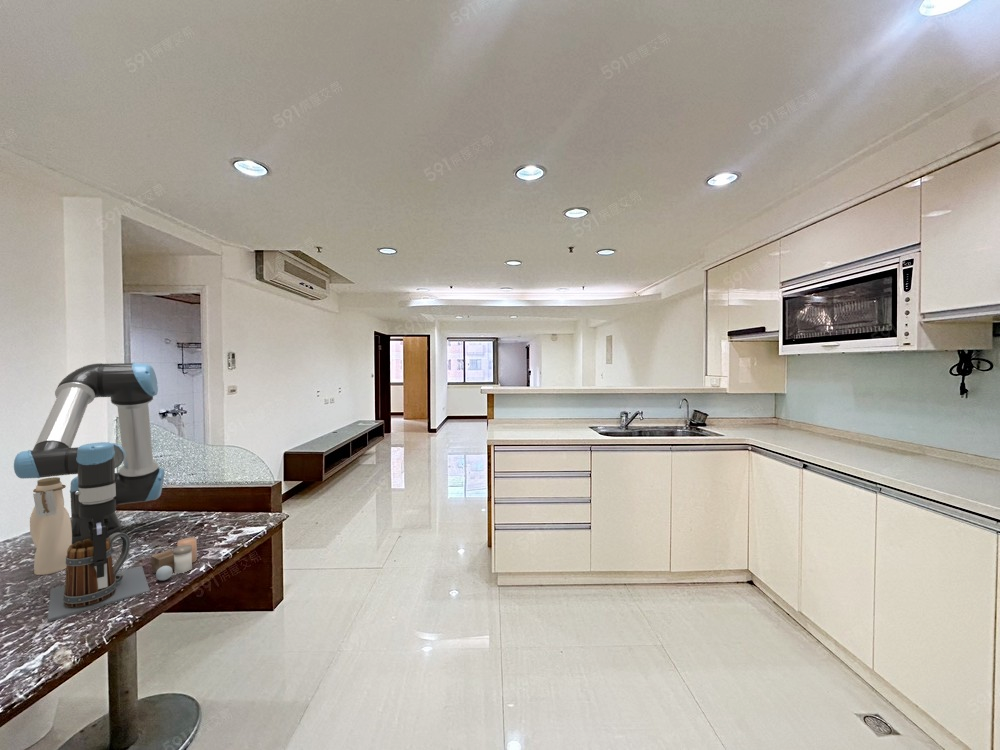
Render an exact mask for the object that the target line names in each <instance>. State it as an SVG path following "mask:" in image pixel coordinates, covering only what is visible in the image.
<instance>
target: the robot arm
mask: <svg viewBox="0 0 1000 750" xmlns="http://www.w3.org/2000/svg"><path fill="white" fill-rule="evenodd" d="M158 386H159V385H158V380H157V375H156V372H155V369H154V368H153V367H152V365H150V364H148V363H136V362H131V363H130V362H128V363H127V362H126V363H121V362H120V363H92V364H87V365H84V366H81V367H79V368H77V369H75V370H74V371H72V372H70V373H69V374H68V375H66V376H65V377H64V378H63V379H62V380H61V381H60V382H59V383H58V385H57V387H56V389H55V391H54V396H55V398H56V399H55V401H54V403H53V405H52V408H51V409H50V412H49V414H48V417H47V419H46V420H45V423H44V424H43V427H42V429H41V431H40V433H39V435H38V438H37V439H36V443H35V444H34V446H33V449H32V450H31V449H29V450H24V451H20V452H19V453H17V454H16V456H15V458H14V460H13V470H14V474H15V475H16V477H17V478H19V479H43V478H52V477H59V476H68V475H77V476H75V477H74V478H72V480H71V481H70V489H69V493H70V494H69V495H70V512H71V515H70V516H71V517H70V520H71V527H72V544H75V543H76V542H79V541H81V542H83V540H86V539H90V540H92V541H93V546H94V563H93V564H91V565H90V567H95V570H96V572H97V582H98V589H101V588H105V587H108V585H107V558H106V538H108V537H109V536H110V535H112V534H114V533H122V524H121V522H120V519H119V518H118V515H117V513H116V510H117V505H118V506H119V505H125V504H135V503H143V502H144V503H146V502H148V501H155V500H158V499H159V498H160V497H161V495H162V491H163V487H164V478H165V469H164V468H159V463H158V462H157V461H154V458H153V456H154V455H153V446H152V445H153V444H152V433H151V423H150V409H149V404H150V403H151V402H152V401H153V400H154V397H155V396H157V395H158V392H159V387H158ZM97 398H110V401H111V404H112V405H114V406H116V407H117V414H118V415H117V416H118V423H119V425H118V426H119V432H120V433H119V434H120V442H121V443H120V444H121V445H120V444H118V443H112V442H109V441H108V442H107V441H104V442H103V441H102V442H92V443H86V444H82V445H79V446H77V447H72V446H73V443H74V440H75V438H76V435H77V433H78V431H79V428H80V425H81V422H82V421H83V417H84V415H85V413H86V410H87V407H88V405H89V404H91V403H92V402H94V400H95V399H97ZM122 463H123V465H122V466H121V464H122ZM120 466H121V467H120ZM118 467H120V468H119V469H118V472H116V471H115V469H117V468H118ZM102 559H103V560H102ZM98 560H99V561H98Z"/></svg>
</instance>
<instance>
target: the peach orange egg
mask: <svg viewBox="0 0 1000 750" xmlns="http://www.w3.org/2000/svg"><path fill="white" fill-rule="evenodd" d="M183 545H191V546H192V562H195V561H196V560H197V561H198V550H197V549H198V547H197V545H198V543H197V537H193V536H192V537H185V538H182V539H179V540H177V547H179V546H183ZM197 561H196V562H197ZM196 562H195V563H196Z"/></svg>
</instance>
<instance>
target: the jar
mask: <svg viewBox="0 0 1000 750" xmlns="http://www.w3.org/2000/svg"><path fill="white" fill-rule="evenodd" d="M172 551H173V554H174V571H173V572H175V573H183V572H187V571H189V570H191V569H192V570H193V564H192V546H191V545H183V546H179V547H175V548H173V549H172ZM192 570H191V571H192ZM189 572H190V571H189ZM175 573H174V574H175ZM187 573H188V572H187ZM183 574H184V573H183Z"/></svg>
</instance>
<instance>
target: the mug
mask: <svg viewBox="0 0 1000 750" xmlns="http://www.w3.org/2000/svg"><path fill="white" fill-rule="evenodd" d="M118 538H120V539H121V543H122V545H121V552H120V554H119V557H118V558H117V560H116V562H115V563H114V565H113V558H112V555H113V554H114V553H115V551H116V549H114V547H113V544H114V541H115V540H116V539H118ZM130 547H131V540H130V537H129V536H128V534H126V533H125V532H124V533H123V532H120V533H114V534H112V535H110V536H109V537H108V538H106V558H107V585H108V587H105V588H101V589H98V582H97V572H96V570H95V567H90V565H91V564H93V563H94V546H93V541H92V540H90V539H86V540H83V542H81V541H79V542H76V543H75V544H72V545H70V546H69V548H68V550H67V556H66V569H65V592H64V597H63V601H64V605H66V606H68V607H72V608H77V607H84V606H89V605H92V604H96V603H98V602H101V601H103V600H105V599H107V598H109V597H110V596H111V595H112V594H113V593H114V592H115V590H116V583H118V582H120V581H121V580H122V578H123V575H122V574H118V575H116V574H117V572H119V571H120V569H121V568H122V566H123V565H124V563H125V561H126V560H127V558H128V555H129V553H130ZM102 560H103V559H102ZM98 561H99V560H98Z"/></svg>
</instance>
